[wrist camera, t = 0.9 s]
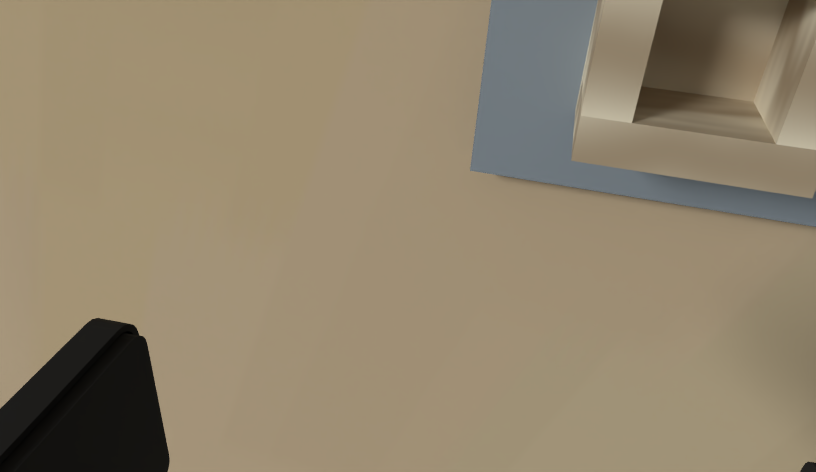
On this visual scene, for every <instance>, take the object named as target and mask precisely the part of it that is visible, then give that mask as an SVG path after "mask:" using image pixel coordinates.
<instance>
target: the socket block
mask: <svg viewBox="0 0 816 472" xmlns="http://www.w3.org/2000/svg"><path fill="white" fill-rule="evenodd" d="M571 161H576V162H583V163H589V164H595V165H602V166H608V167H615V168H621V169H627V170H634V171H640V172H646V173H653V174H659V175H666V176H672V177H678V178H685V179H691V180H697V181H704V182H710V183H716V184H723V185H729V186H736V187H742V188H748V189H755V190H761V191H767V192H774V193H780V194H787V195H793V196H799V197H806V198H813V195H814V193H815V191H816V0H598V2H597V7H596V12H595V17H594V21H593V26H592V31H591V36H590V41H589V46H588V51H587V56H586V60H585V65H584V70H583V75H582V80H581V85H580V90H579V94H578V99H577V104H576V109H575V120H574V133H573V145H572V158H571Z"/></svg>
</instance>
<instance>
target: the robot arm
mask: <svg viewBox="0 0 816 472" xmlns="http://www.w3.org/2000/svg"><path fill="white" fill-rule="evenodd" d="M168 467H169V453H168V448H167V442H166V437H165V432H164V427H163V422H162V417H161V412H160V407H159V402H158V397H157V392H156V387H155V381H154V376H153V371H152V366H151V361H150V356H149V351H148V346H147V342H146V339H145V338H144V337H143V336H139V333H138V331H137V328H136V327H135V326H134V325H131V324H127V323H122V322H116V321H111V320H105V319H100V318H96V319H92V320H91V321H89V322H88V323H87V324H86V325H85V326H84V327H83V328H82V329H81V330H80V331H79V332H78V333H77V334H76V335H75V336H74V337H73V338H72V339H71V340H70V341H68V342H67V343H66V344H65V345H64V346H63V347H62V348H61V349H60V350H59V351H58V352H57V353H56V354H55V355H54V356H53V357H52V358H51V359H50V360H49V361H48V362H47V363H46V364H45V365H44V366H43V367H42V368H41V369H40V370H39V371H38V372H37V373H36V374H35V375H34V376H33V377H32V378H31V379H30V380H29V381H28V382H27V383H26V384H25V385H24V386H23V387H22V388H21V389H20V390H19V391H18V392H17V393H16V394H15V395H14V396H13V397H12V398H11V399H10V400H9V401H8V402H7V403H6V404H5V405H4V406H3V407H2V408H1V409H0V472H167V471H168ZM801 472H816V463H813V462H807V463H805V465H804V466H803V468H802V469H801Z"/></svg>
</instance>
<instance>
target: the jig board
mask: <svg viewBox="0 0 816 472" xmlns="http://www.w3.org/2000/svg"><path fill="white" fill-rule="evenodd" d="M597 2H598V0H492V2H491V10H490V18H489V25H488V33H487V41H486V49H485V57H484V65H483V73H482V81H481V89H480V97H479V105H478V113H477V121H476V129H475V136H474V144H473V152H472V160H471V168H470V171H476V172H483V173H489V174H495V175H501V176H507V177H513V178H519V179H526V180H532V181H538V182H544V183H550V184H556V185H562V186H569V187H575V188H581V189H587V190H593V191H599V192H605V193H612V194H618V195H624V196H630V197H636V198H642V199H648V200H654V201H661V202H667V203H673V204H679V205H685V206H691V207H697V208H704V209H710V210H716V211H722V212H728V213H734V214H740V215H747V216H753V217H759V218H765V219H771V220H777V221H783V222H790V223H796V224H802V225H808V226H814V227H816V191H815V193H814V195H813V198H806V197H799V196H793V195H787V194H780V193H774V192H767V191H761V190H755V189H748V188H742V187H736V186H729V185H723V184H716V183H710V182H704V181H697V180H691V179H685V178H678V177H672V176H666V175H659V174H653V173H646V172H640V171H634V170H627V169H621V168H615V167H608V166H602V165H595V164H589V163H583V162H576V161H571V158H572V145H573V133H574V120H575V109H576V104H577V99H578V94H579V90H580V85H581V80H582V75H583V70H584V65H585V60H586V56H587V51H588V46H589V41H590V36H591V31H592V26H593V21H594V17H595V12H596V7H597Z"/></svg>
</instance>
